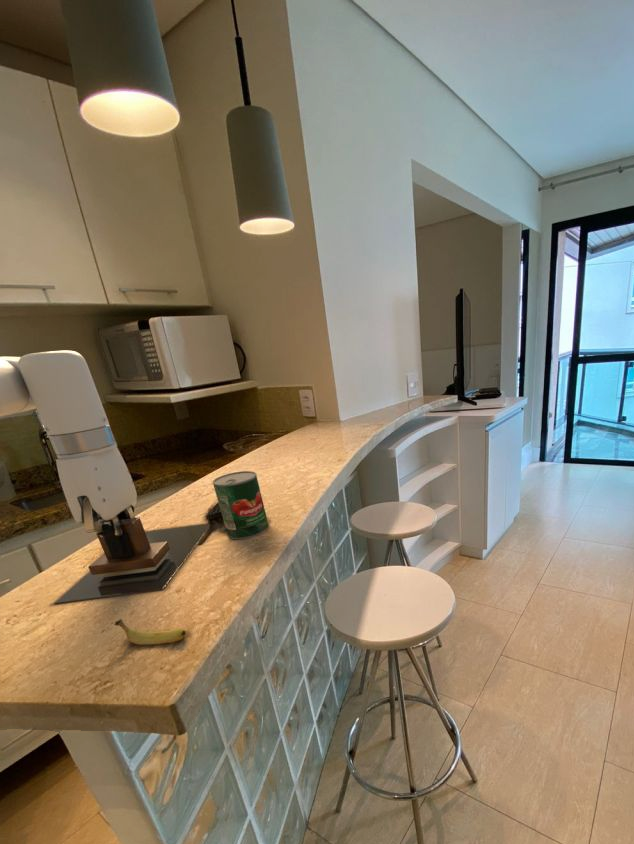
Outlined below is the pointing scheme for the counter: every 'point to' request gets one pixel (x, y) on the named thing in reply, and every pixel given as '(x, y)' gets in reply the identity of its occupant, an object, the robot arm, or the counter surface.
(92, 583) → the slate board
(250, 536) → the canned tomato
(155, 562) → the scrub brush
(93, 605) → the counter surface
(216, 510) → the hairbrush
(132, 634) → the banana
